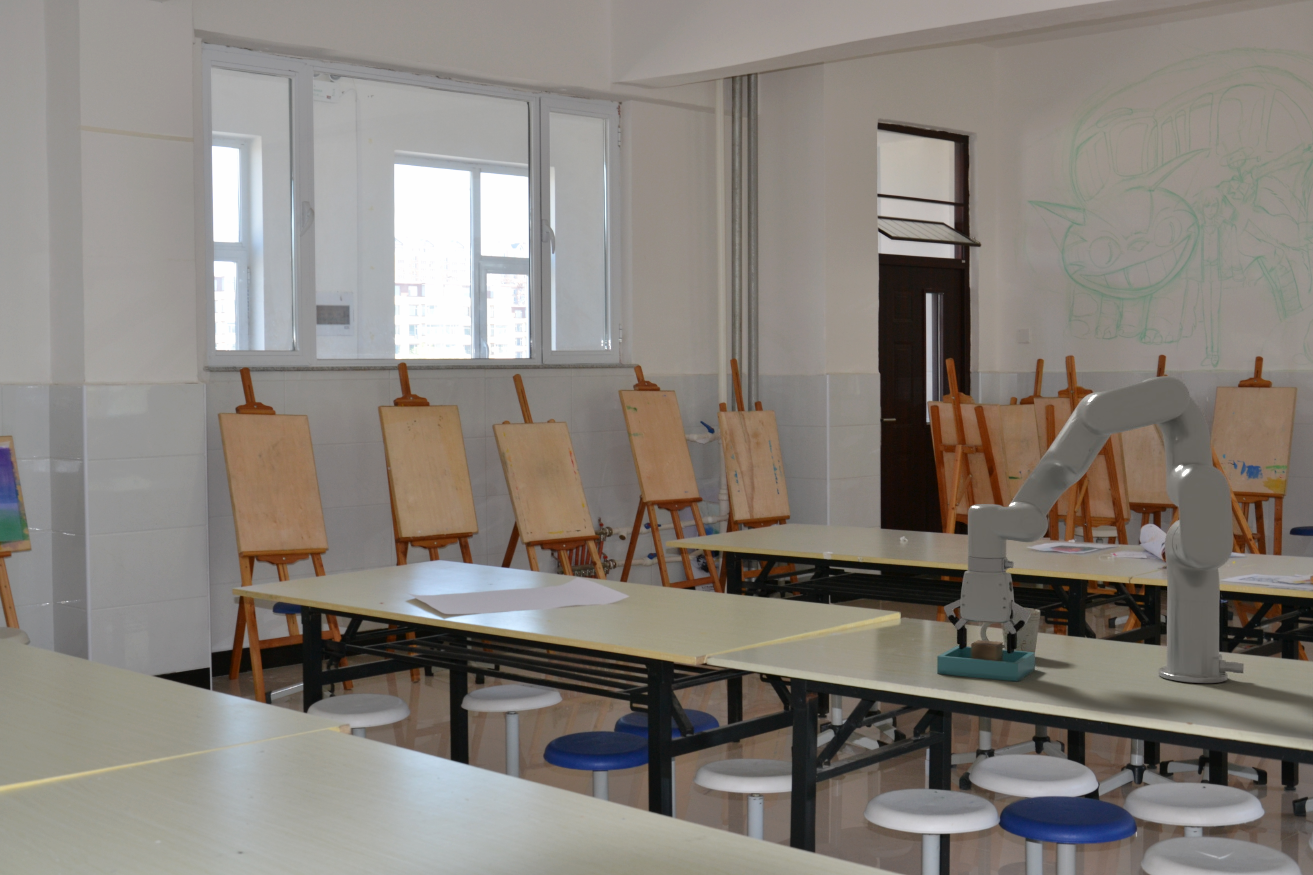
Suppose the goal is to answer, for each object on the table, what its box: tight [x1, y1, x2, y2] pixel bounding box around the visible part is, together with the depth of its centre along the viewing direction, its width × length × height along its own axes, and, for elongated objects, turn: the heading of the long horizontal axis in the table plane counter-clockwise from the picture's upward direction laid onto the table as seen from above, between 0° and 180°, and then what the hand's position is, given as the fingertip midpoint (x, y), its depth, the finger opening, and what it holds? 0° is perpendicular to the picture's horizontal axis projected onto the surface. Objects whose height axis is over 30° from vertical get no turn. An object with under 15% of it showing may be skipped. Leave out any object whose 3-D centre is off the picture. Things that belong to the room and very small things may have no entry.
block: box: [970, 639, 1004, 661], centre depth 258 cm, size 5×5×5 cm
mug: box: [979, 607, 1041, 653], centre depth 274 cm, size 8×13×10 cm, turn 89°
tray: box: [936, 645, 1036, 683], centre depth 258 cm, size 16×14×4 cm
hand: (986, 650), depth 258 cm, fingers open, 9 cm apart
